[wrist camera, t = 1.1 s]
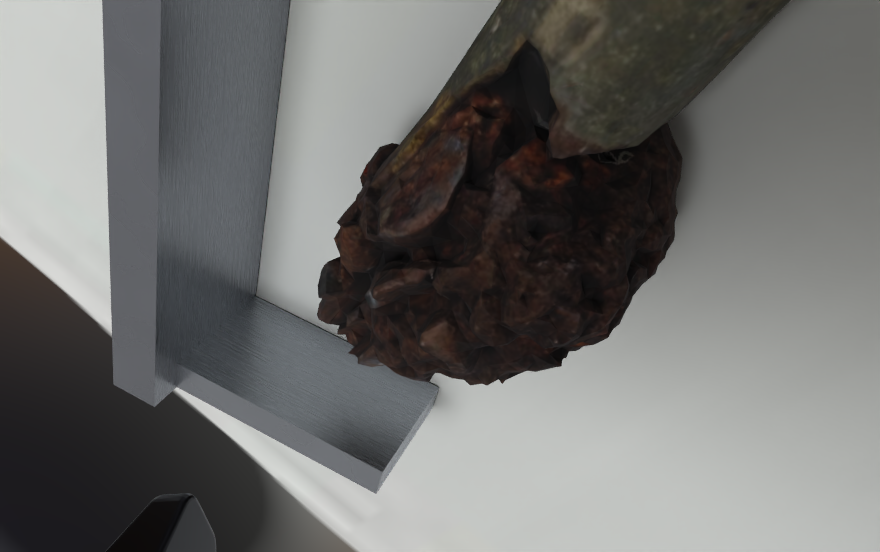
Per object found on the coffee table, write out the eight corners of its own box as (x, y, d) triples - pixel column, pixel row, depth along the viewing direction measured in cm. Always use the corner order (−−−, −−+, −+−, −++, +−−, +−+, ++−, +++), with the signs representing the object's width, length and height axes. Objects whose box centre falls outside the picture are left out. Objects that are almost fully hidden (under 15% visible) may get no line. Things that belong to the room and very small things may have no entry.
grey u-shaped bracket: (797, -692, 11) (775, -941, 8) (432, 408, 26) (359, 518, 22) (300, -779, 13) (71, -1021, 9) (216, 299, 27) (113, 384, 23)
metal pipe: (821, -468, 13) (823, -605, 8) (1133, -196, 13) (1299, -188, 8) (344, 225, 24) (234, 325, 19) (515, 366, 24) (446, 499, 19)
